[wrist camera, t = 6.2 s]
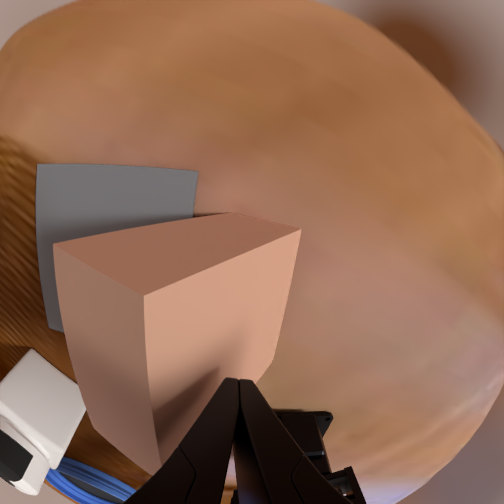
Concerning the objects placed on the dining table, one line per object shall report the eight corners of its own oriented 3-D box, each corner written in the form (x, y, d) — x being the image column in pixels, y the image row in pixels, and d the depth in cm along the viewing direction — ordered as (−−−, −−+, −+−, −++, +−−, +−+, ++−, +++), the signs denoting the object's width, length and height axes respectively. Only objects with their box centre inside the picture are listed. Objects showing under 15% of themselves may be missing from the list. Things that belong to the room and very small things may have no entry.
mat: (183, 357, 18) (182, 360, 17) (51, 325, 17) (49, 327, 16) (198, 171, 14) (197, 171, 14) (41, 163, 13) (37, 164, 13)
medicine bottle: (25, 382, 19) (-27, 456, 7) (31, 345, 17) (-40, 432, 6) (78, 422, 20) (40, 507, 9) (94, 394, 19) (43, 500, 7)
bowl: (122, 509, 30) (119, 522, 26) (39, 460, 25) (32, 473, 22) (172, 501, 26) (169, 519, 23) (61, 441, 22) (52, 460, 19)
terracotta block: (272, 361, 16) (165, 484, 7) (215, 337, 17) (93, 427, 8) (301, 228, 13) (143, 295, 5) (230, 212, 15) (52, 243, 6)
